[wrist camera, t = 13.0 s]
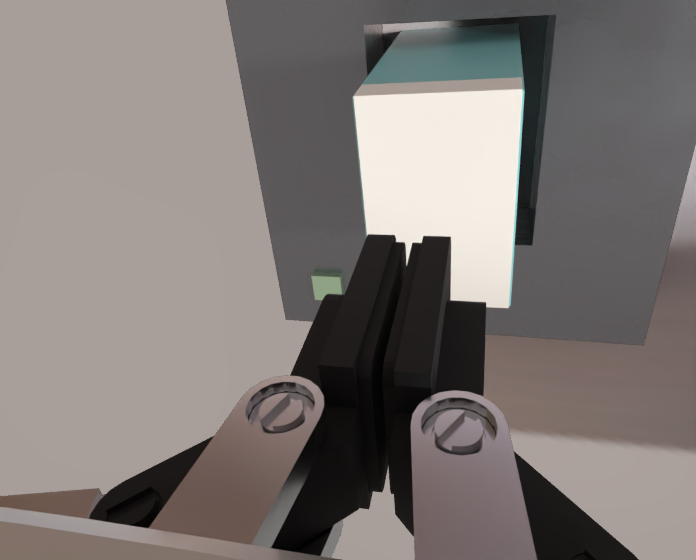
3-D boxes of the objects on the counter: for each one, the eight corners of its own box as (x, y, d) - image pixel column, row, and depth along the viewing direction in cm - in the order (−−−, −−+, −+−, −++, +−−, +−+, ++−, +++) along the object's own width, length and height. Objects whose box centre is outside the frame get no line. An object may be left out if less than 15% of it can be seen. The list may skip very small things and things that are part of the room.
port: (740, -187, 15) (790, -202, 12) (629, 299, 24) (645, 350, 21) (241, -124, 19) (197, -126, 16) (305, 281, 27) (283, 323, 25)
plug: (518, 21, 19) (525, 89, 13) (509, 187, 22) (510, 308, 16) (401, 29, 20) (351, 96, 14) (408, 187, 23) (372, 301, 17)
